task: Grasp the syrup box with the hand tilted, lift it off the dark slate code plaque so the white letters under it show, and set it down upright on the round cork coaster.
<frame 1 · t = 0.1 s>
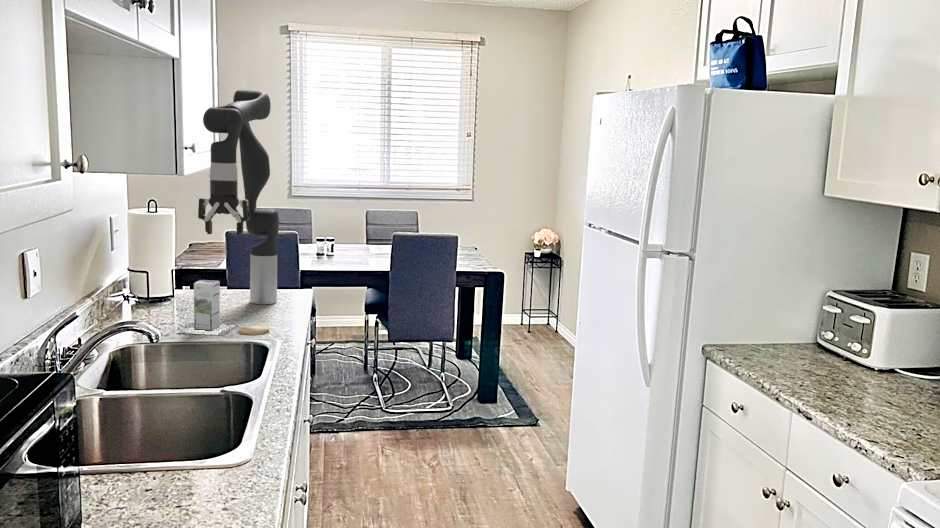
hand: (224, 234, 214), 29 cm above the worktop, tool pointing down, fingers open, 8 cm apart
syrup box: (207, 329, 221), resting on code plaque
cork coaster: (253, 331, 221), on the worktop
code plaque: (207, 329, 221), on the worktop
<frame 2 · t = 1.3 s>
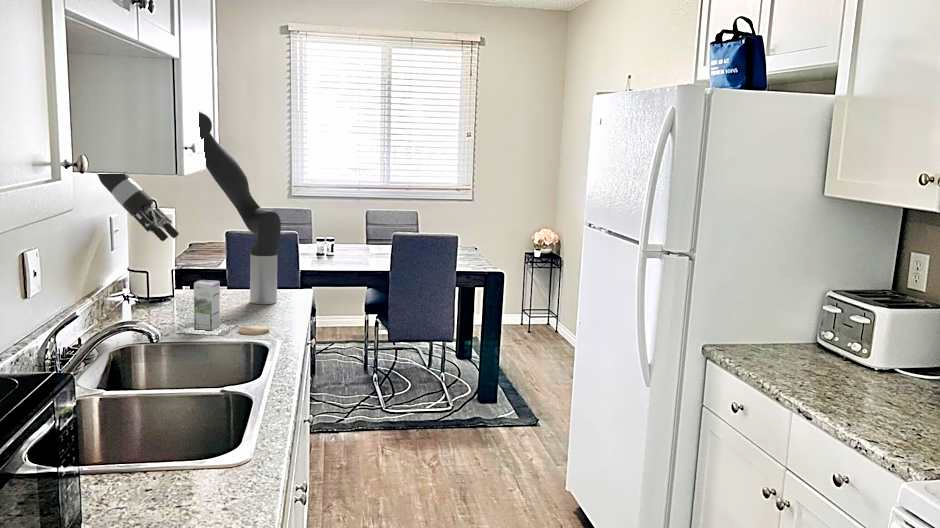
hand: (171, 237, 220), 27 cm above the worktop, tool tilted 45°, fingers open, 8 cm apart
nothing on the worktop moved.
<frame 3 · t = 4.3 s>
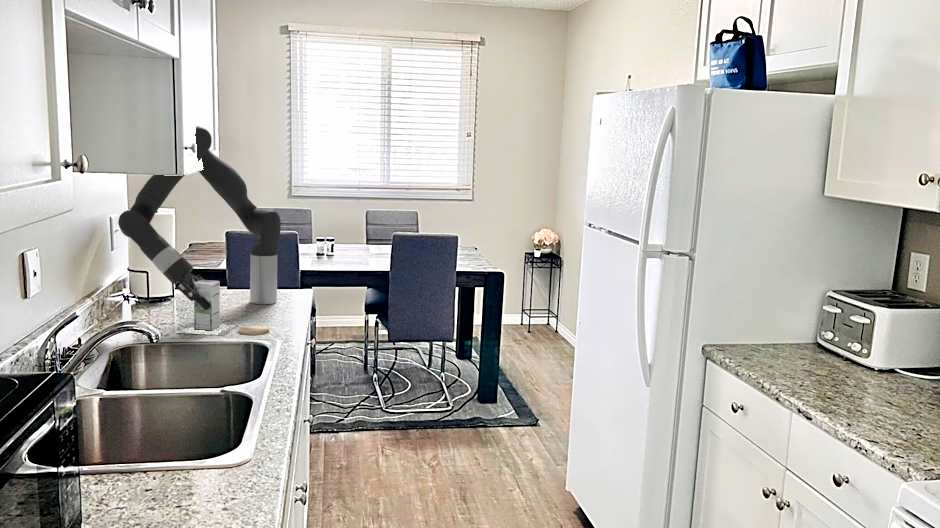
hand: (212, 305, 220), 7 cm above the worktop, tool tilted 45°, fingers closed on syrup box, 6 cm apart
syrup box: (207, 329, 221), resting on code plaque, touching gripper
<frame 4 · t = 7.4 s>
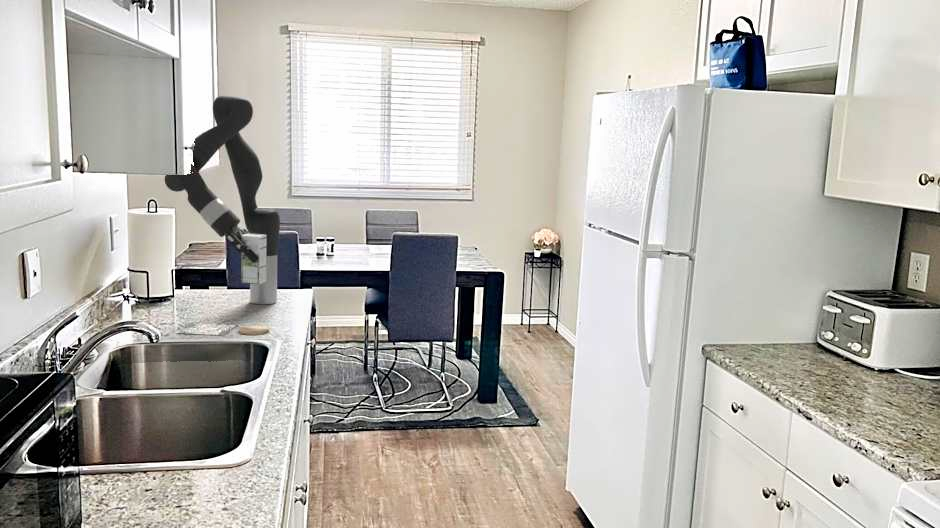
hand: (259, 259, 218), 22 cm above the worktop, tool tilted 45°, fingers closed on syrup box, 6 cm apart
syrup box: (253, 283, 219), point 15 cm above the worktop, touching gripper
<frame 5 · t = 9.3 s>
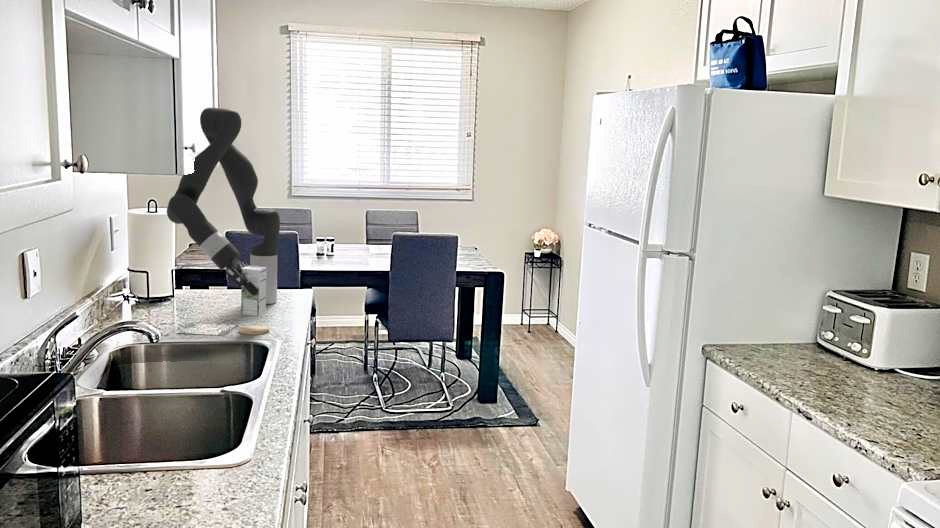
hand: (259, 291, 219), 12 cm above the worktop, tool tilted 45°, fingers closed on syrup box, 6 cm apart
syrup box: (253, 315, 220), point 5 cm above the worktop, touching gripper
when the fingers open (9 cm above the worktop, at t = 10.5 s): syrup box drops 1 cm, resting on cork coaster.
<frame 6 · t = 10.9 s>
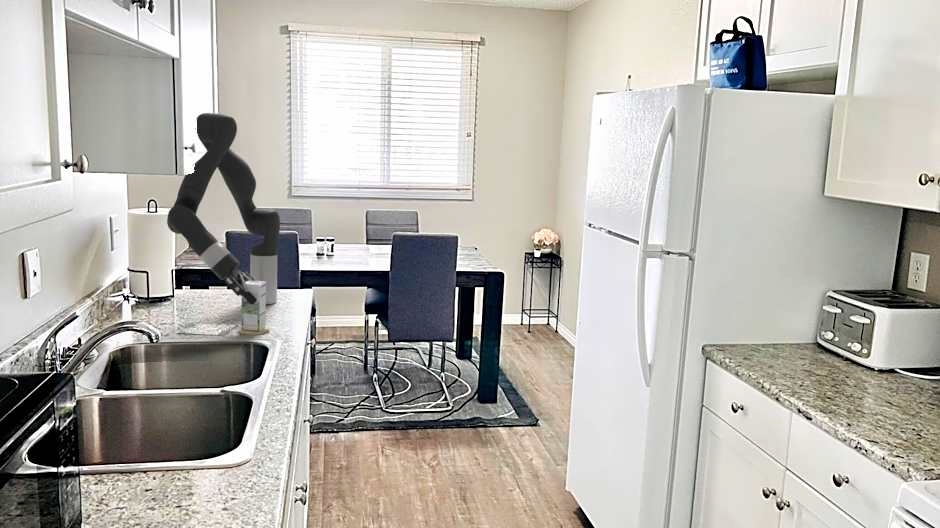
hand: (258, 300, 220), 10 cm above the worktop, tool tilted 45°, fingers open, 8 cm apart
syrup box: (253, 329, 221), resting on cork coaster
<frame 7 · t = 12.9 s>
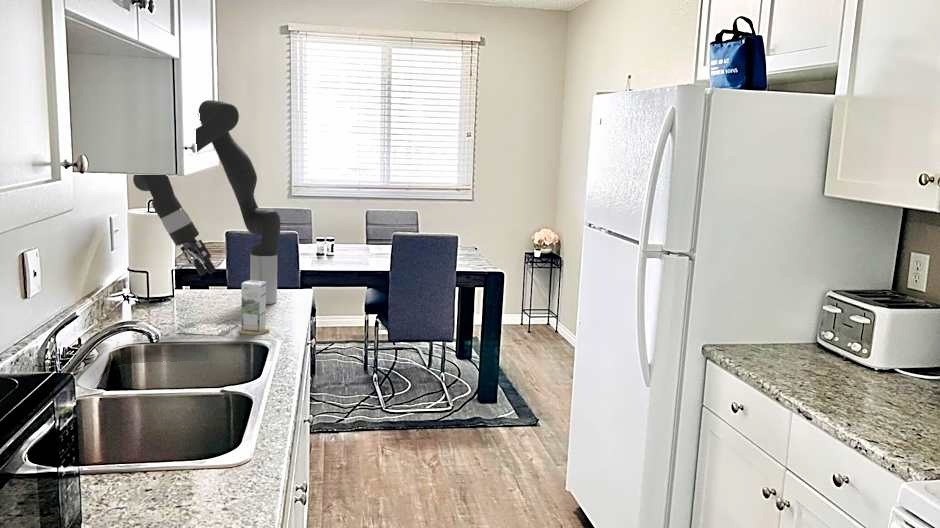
hand: (208, 273, 222), 16 cm above the worktop, tool tilted 30°, fingers open, 8 cm apart
nothing on the worktop moved.
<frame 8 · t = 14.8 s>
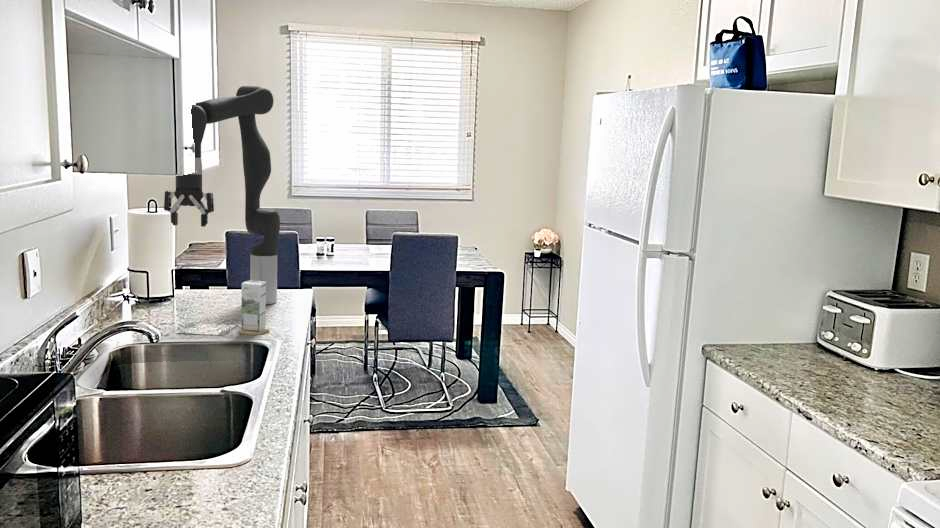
hand: (189, 225, 224), 30 cm above the worktop, tool pointing down, fingers open, 8 cm apart
nothing on the worktop moved.
at the end: syrup box 0.3 cm from the cork coaster (horizontally); syrup box tilted 0°; the gripper is holding nothing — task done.
